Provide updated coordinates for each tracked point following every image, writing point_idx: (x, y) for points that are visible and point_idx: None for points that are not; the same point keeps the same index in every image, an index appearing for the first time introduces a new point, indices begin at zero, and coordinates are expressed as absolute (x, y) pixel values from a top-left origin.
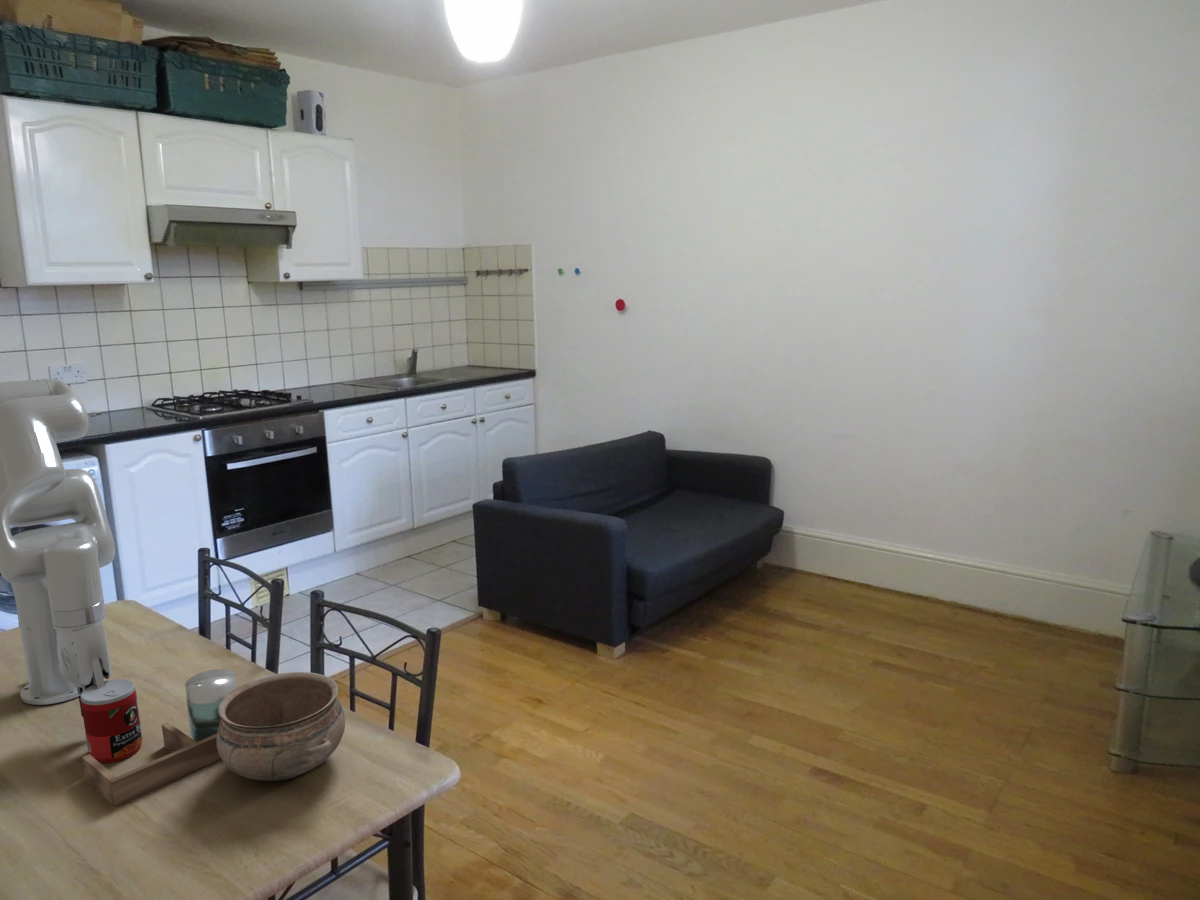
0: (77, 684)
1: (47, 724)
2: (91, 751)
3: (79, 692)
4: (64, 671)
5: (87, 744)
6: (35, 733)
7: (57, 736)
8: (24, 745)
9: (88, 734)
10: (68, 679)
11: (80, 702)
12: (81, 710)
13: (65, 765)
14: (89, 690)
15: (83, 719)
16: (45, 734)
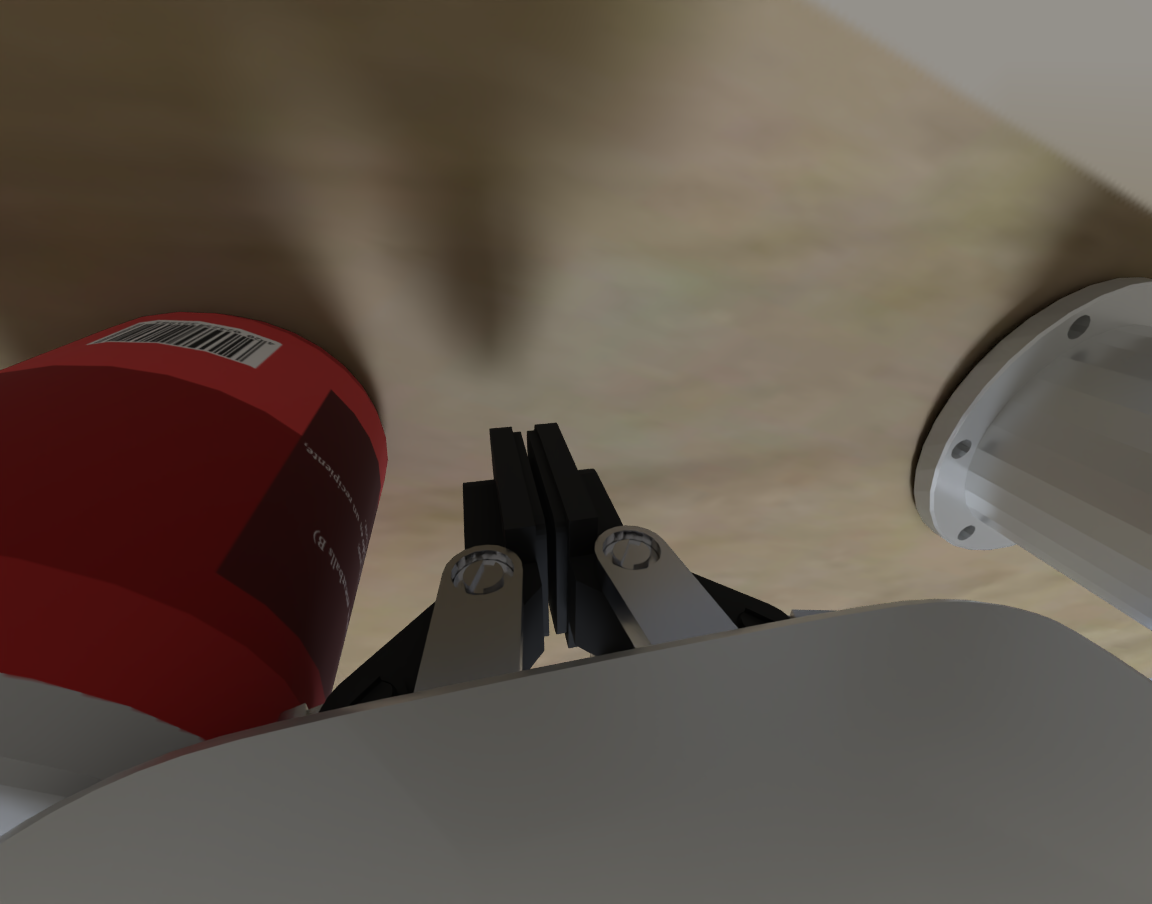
0: (153, 805)
1: (838, 281)
2: (122, 326)
3: (624, 544)
4: (894, 747)
5: (178, 332)
6: (811, 197)
7: (674, 271)
8: (740, 84)
9: (21, 371)
10: (673, 659)
11: (557, 486)
12: (551, 447)
13: (243, 163)
14: (13, 798)
15: (82, 422)
16: (752, 233)
